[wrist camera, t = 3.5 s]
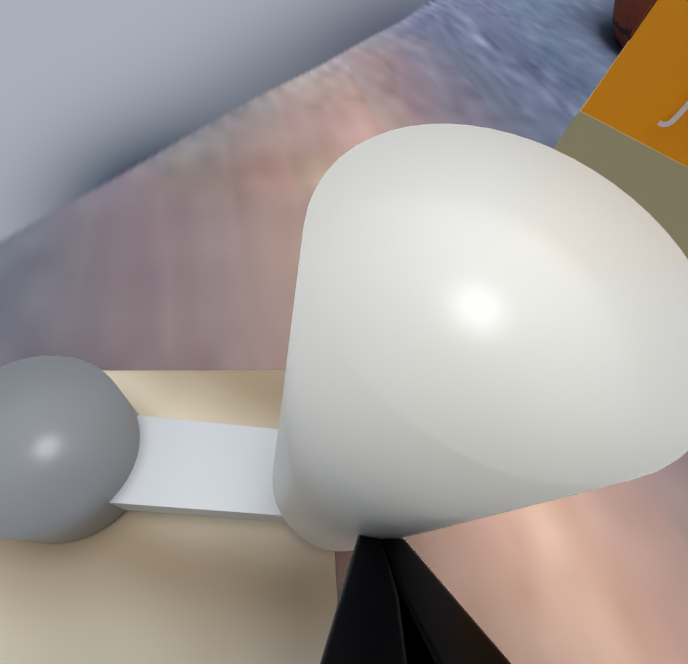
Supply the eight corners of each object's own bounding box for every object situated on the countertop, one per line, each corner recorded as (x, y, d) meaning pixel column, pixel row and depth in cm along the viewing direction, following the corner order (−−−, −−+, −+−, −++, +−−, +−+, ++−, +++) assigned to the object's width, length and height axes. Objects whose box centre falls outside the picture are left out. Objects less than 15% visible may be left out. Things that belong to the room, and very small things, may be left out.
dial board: (343, 798, 11) (351, 819, 10) (-657, 995, 8) (-786, 1054, 7) (320, 380, 17) (323, 369, 16) (-253, 384, 14) (-291, 369, 13)
